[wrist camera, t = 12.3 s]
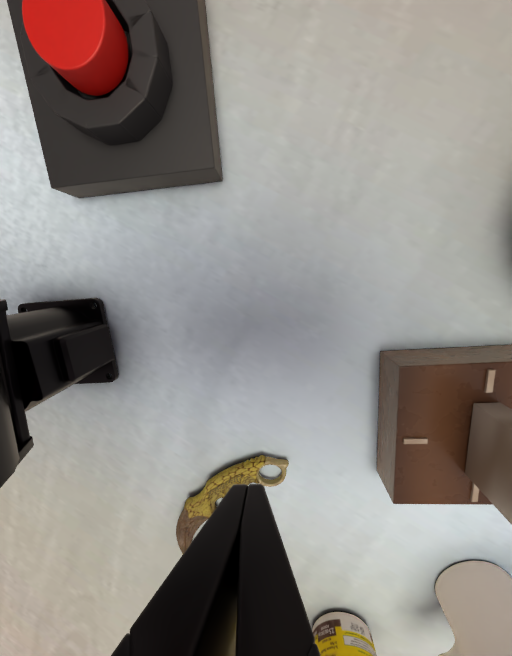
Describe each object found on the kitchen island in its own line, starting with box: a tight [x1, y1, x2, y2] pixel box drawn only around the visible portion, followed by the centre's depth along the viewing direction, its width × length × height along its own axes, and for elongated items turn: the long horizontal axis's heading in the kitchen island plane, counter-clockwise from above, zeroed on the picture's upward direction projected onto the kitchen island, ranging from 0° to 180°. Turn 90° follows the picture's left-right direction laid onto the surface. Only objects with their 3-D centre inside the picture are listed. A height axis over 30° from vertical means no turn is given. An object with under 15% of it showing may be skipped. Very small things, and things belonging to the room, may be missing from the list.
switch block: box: [7, 0, 223, 198], centre depth 14 cm, size 10×10×4 cm
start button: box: [22, 0, 128, 96], centre depth 11 cm, size 4×4×2 cm
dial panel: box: [377, 345, 512, 504], centre depth 17 cm, size 10×10×3 cm
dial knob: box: [465, 403, 512, 524], centre depth 14 cm, size 5×2×4 cm, turn 4°
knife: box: [176, 455, 289, 554], centre depth 21 cm, size 14×1×5 cm
